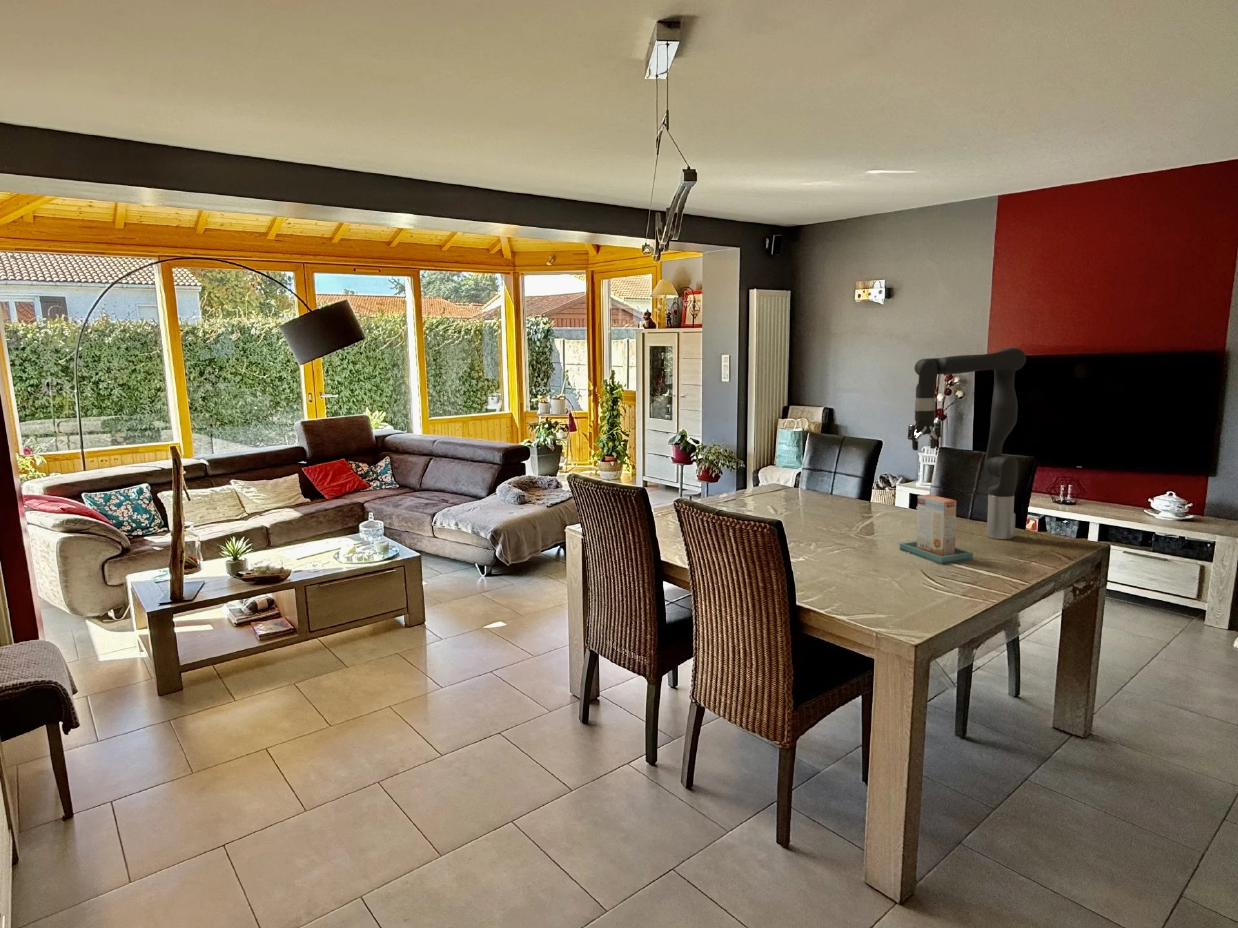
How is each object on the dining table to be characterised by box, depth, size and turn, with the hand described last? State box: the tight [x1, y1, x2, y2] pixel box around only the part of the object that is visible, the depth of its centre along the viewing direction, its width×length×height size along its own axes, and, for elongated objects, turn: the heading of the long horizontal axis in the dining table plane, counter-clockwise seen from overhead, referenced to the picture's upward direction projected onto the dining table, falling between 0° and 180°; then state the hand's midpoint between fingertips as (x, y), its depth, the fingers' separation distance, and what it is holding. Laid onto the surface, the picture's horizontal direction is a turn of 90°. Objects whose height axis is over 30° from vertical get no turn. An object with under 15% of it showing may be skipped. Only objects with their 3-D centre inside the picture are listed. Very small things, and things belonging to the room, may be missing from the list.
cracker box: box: [916, 494, 957, 556], centre depth 273 cm, size 14×6×21 cm, turn 18°
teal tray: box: [899, 540, 974, 565], centre depth 274 cm, size 14×22×2 cm, turn 19°
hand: (924, 449), depth 295 cm, fingers open, 8 cm apart
